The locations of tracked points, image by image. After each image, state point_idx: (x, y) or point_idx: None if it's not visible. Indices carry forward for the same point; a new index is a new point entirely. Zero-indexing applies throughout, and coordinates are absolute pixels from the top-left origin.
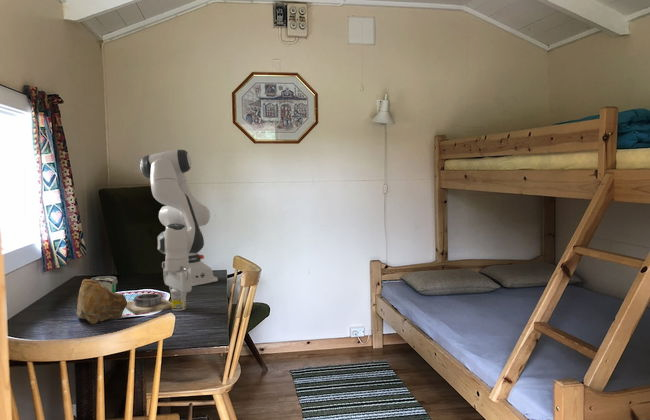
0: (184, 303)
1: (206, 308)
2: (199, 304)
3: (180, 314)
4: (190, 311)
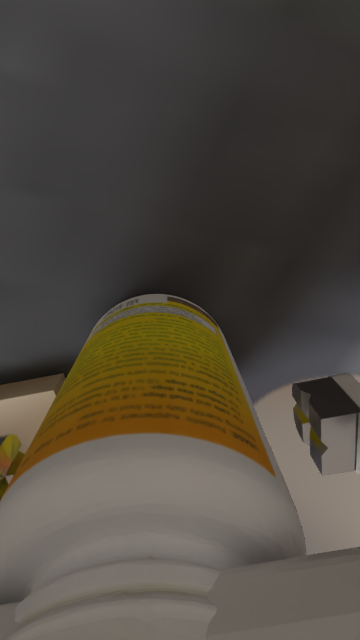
0: (221, 342)
1: (282, 49)
2: (19, 87)
3: (339, 369)
4: (297, 271)
